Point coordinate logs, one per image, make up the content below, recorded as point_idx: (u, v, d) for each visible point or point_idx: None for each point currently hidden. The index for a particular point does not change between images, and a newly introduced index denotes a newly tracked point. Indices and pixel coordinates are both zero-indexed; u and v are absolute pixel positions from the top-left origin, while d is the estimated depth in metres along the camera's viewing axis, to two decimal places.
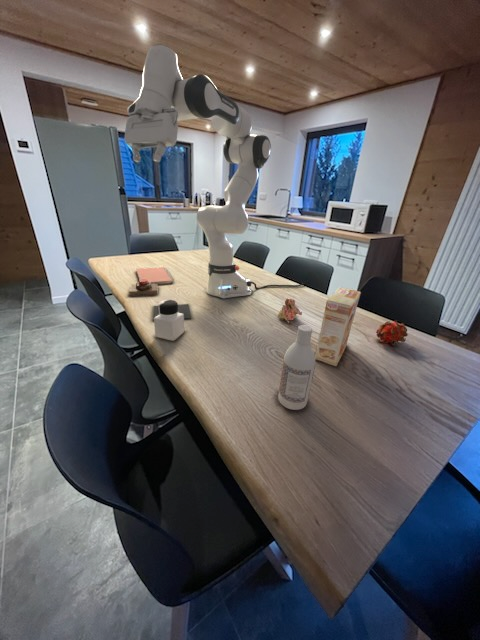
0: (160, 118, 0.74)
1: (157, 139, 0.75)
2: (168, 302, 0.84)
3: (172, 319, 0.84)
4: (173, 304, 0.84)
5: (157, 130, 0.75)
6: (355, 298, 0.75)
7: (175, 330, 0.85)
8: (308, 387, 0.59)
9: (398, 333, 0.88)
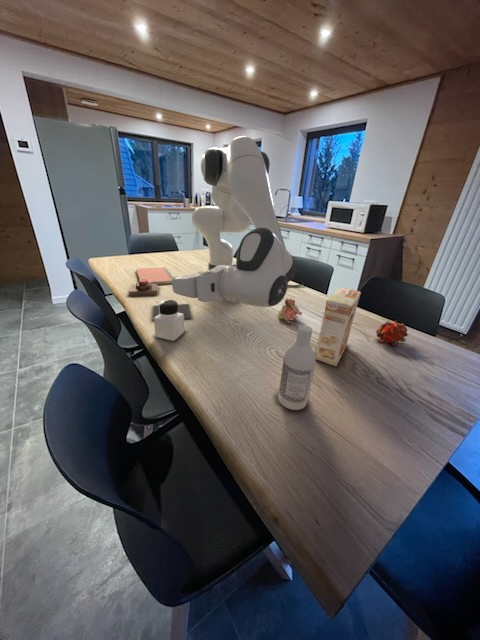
0: None
1: None
2: (168, 302, 0.84)
3: (172, 319, 0.84)
4: (173, 304, 0.84)
5: None
6: (355, 298, 0.75)
7: (175, 330, 0.85)
8: (308, 387, 0.59)
9: (398, 333, 0.88)
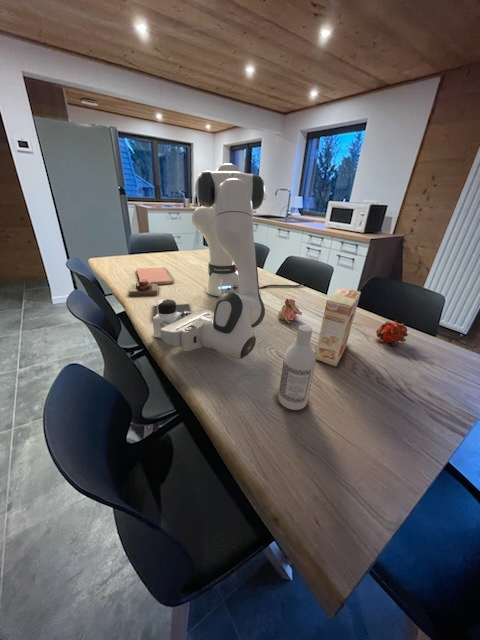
0: None
1: None
2: (166, 302, 0.85)
3: (171, 318, 0.85)
4: (172, 303, 0.84)
5: None
6: (355, 298, 0.75)
7: None
8: (308, 387, 0.59)
9: (398, 333, 0.88)
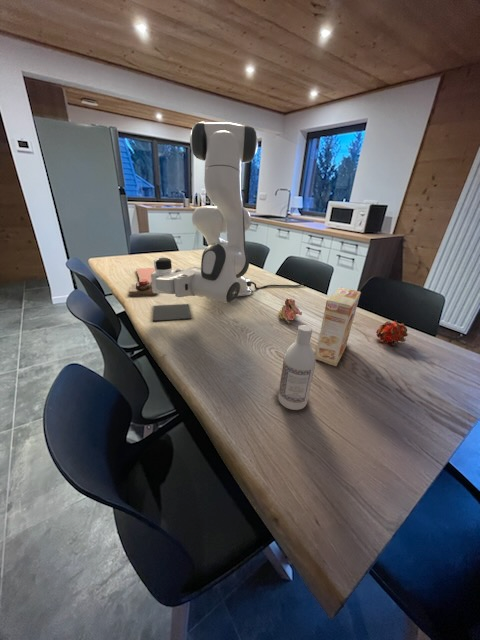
0: None
1: None
2: (163, 259, 0.93)
3: (169, 273, 0.94)
4: (168, 260, 0.93)
5: None
6: (355, 298, 0.75)
7: None
8: (308, 387, 0.59)
9: (398, 333, 0.88)
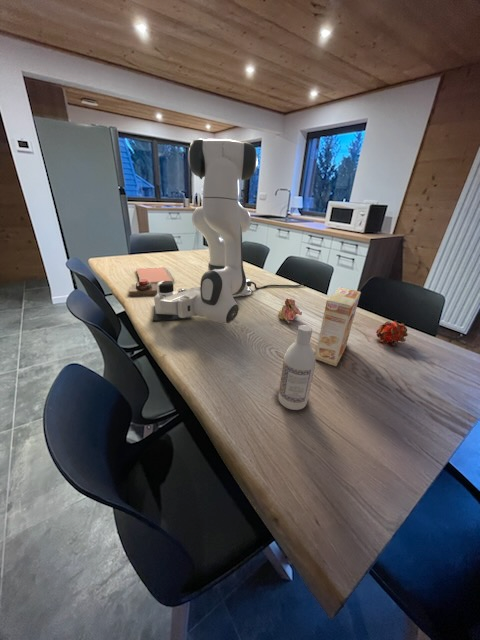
0: None
1: None
2: (165, 282, 1.00)
3: None
4: (170, 283, 1.01)
5: None
6: (355, 298, 0.75)
7: None
8: (308, 387, 0.59)
9: (398, 333, 0.88)
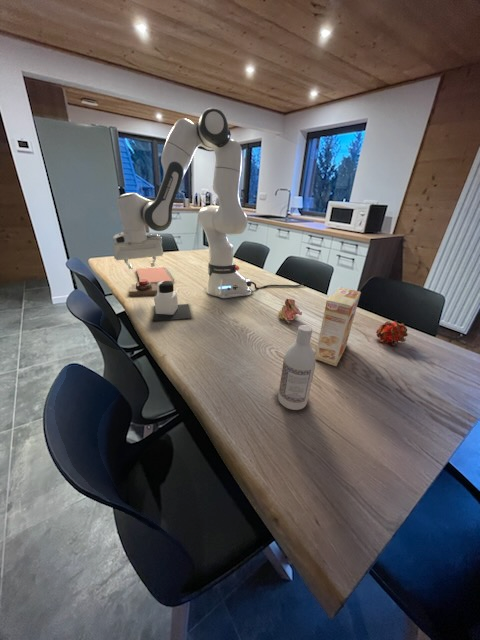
0: (152, 243, 1.13)
1: (154, 256, 1.15)
2: (165, 282, 1.00)
3: (171, 296, 1.01)
4: (170, 283, 1.01)
5: (152, 250, 1.14)
6: (355, 298, 0.75)
7: (173, 305, 1.02)
8: (308, 387, 0.59)
9: (398, 333, 0.88)
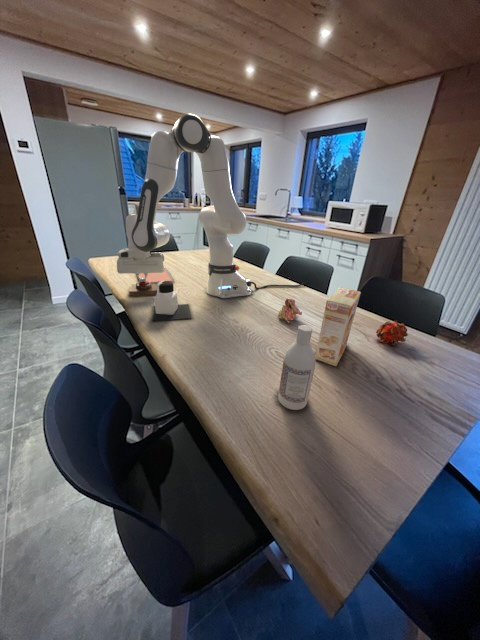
0: (154, 260, 1.19)
1: (155, 272, 1.21)
2: (165, 282, 1.00)
3: (171, 296, 1.01)
4: (170, 283, 1.01)
5: (153, 267, 1.20)
6: (355, 298, 0.75)
7: (173, 305, 1.02)
8: (308, 387, 0.59)
9: (398, 333, 0.88)
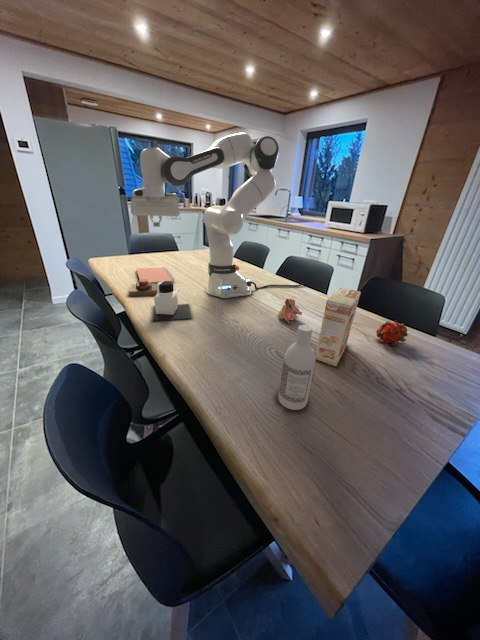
0: (169, 202, 1.14)
1: (169, 215, 1.16)
2: (165, 282, 1.00)
3: (171, 296, 1.01)
4: (170, 283, 1.01)
5: (168, 209, 1.15)
6: (355, 298, 0.75)
7: (173, 305, 1.02)
8: (308, 387, 0.59)
9: (398, 333, 0.88)
